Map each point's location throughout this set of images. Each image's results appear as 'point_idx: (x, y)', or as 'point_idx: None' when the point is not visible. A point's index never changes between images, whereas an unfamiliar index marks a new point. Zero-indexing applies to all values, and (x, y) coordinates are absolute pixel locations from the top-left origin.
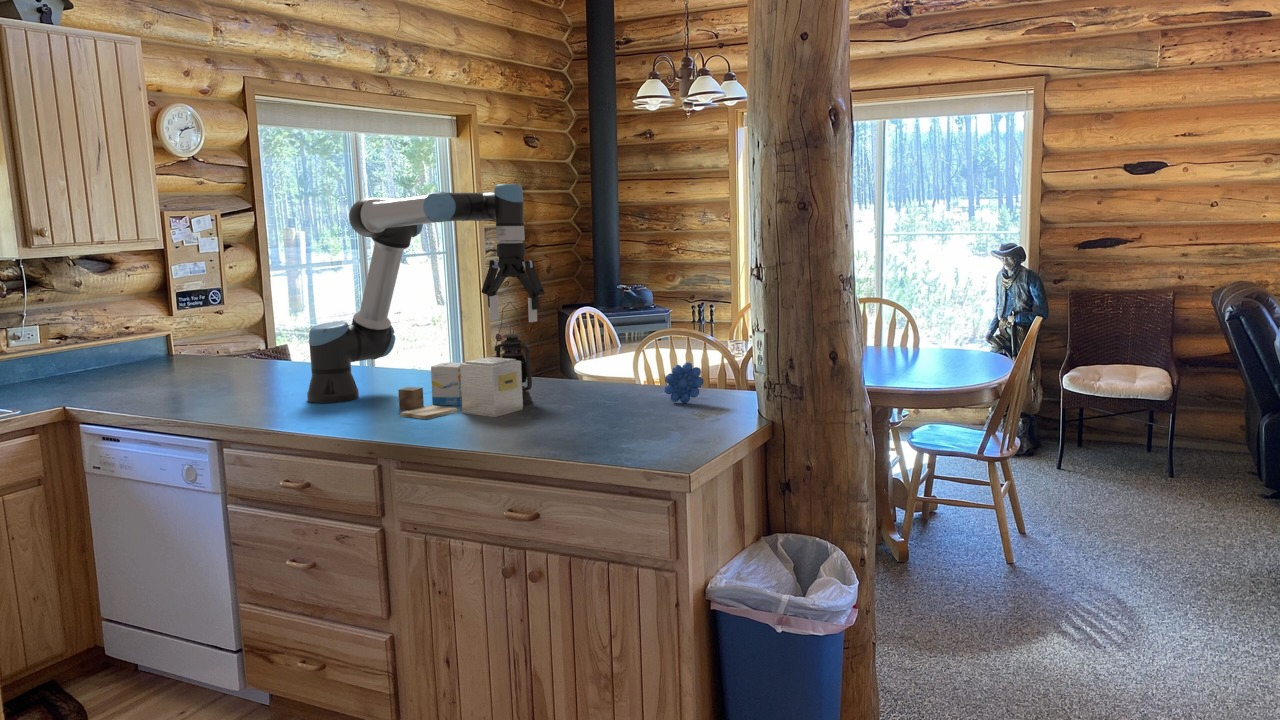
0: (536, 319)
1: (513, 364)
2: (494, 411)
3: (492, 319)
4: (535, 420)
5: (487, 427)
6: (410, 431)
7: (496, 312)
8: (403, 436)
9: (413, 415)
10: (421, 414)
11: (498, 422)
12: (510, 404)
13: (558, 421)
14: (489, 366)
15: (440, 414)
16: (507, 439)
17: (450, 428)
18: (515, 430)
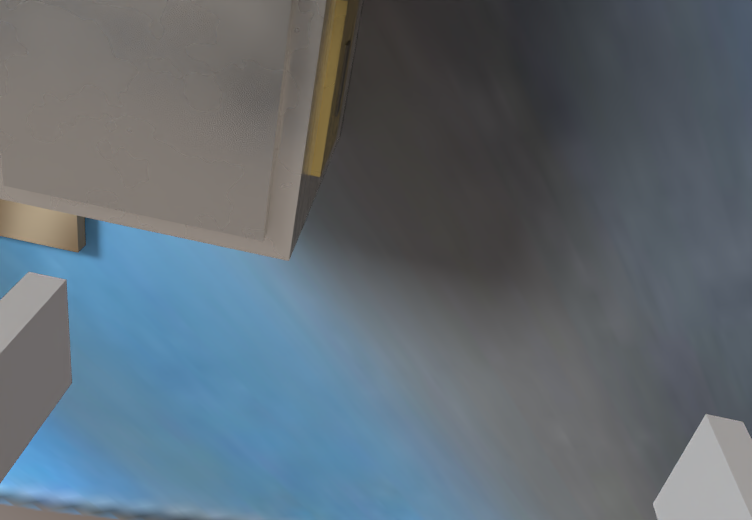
0: (744, 452)
1: (322, 35)
2: (335, 145)
3: (68, 387)
4: (571, 151)
5: (419, 313)
6: (186, 411)
7: (17, 379)
8: (218, 465)
9: (5, 233)
10: (37, 234)
11: (416, 226)
12: (355, 25)
13: (697, 145)
14: (258, 252)
15: None
16: (585, 446)
17: (289, 352)
18: (558, 334)
